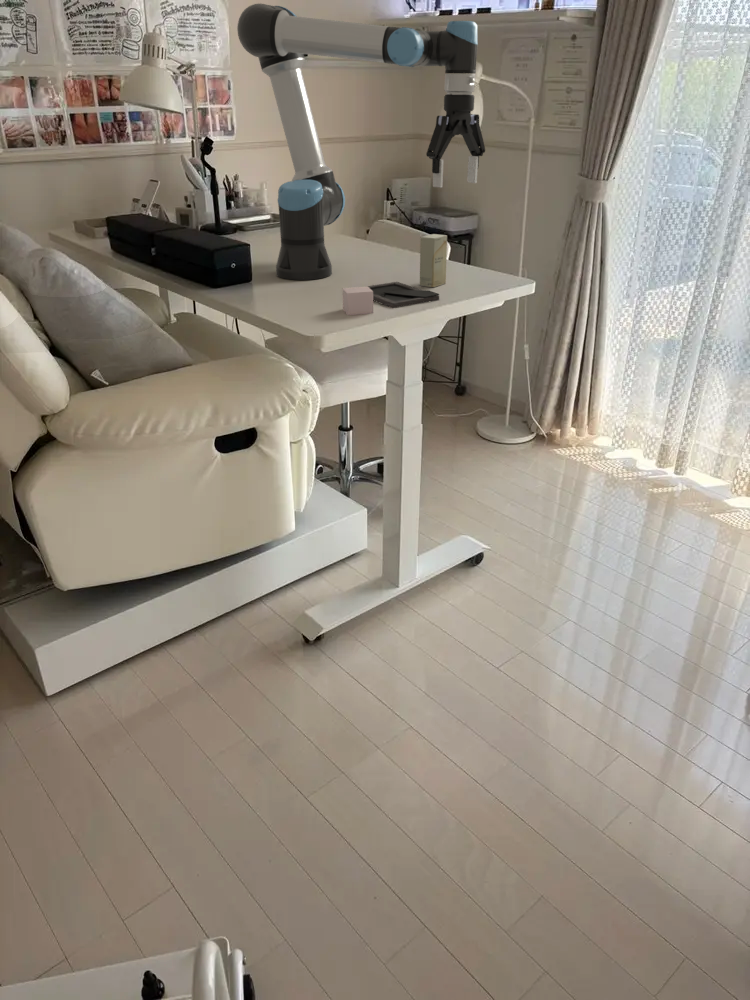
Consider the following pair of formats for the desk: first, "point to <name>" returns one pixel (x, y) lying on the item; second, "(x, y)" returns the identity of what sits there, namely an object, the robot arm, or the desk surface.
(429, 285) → the skincare box
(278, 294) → the desk surface
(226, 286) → the desk surface
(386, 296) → the picture frame
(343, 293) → the pink box
